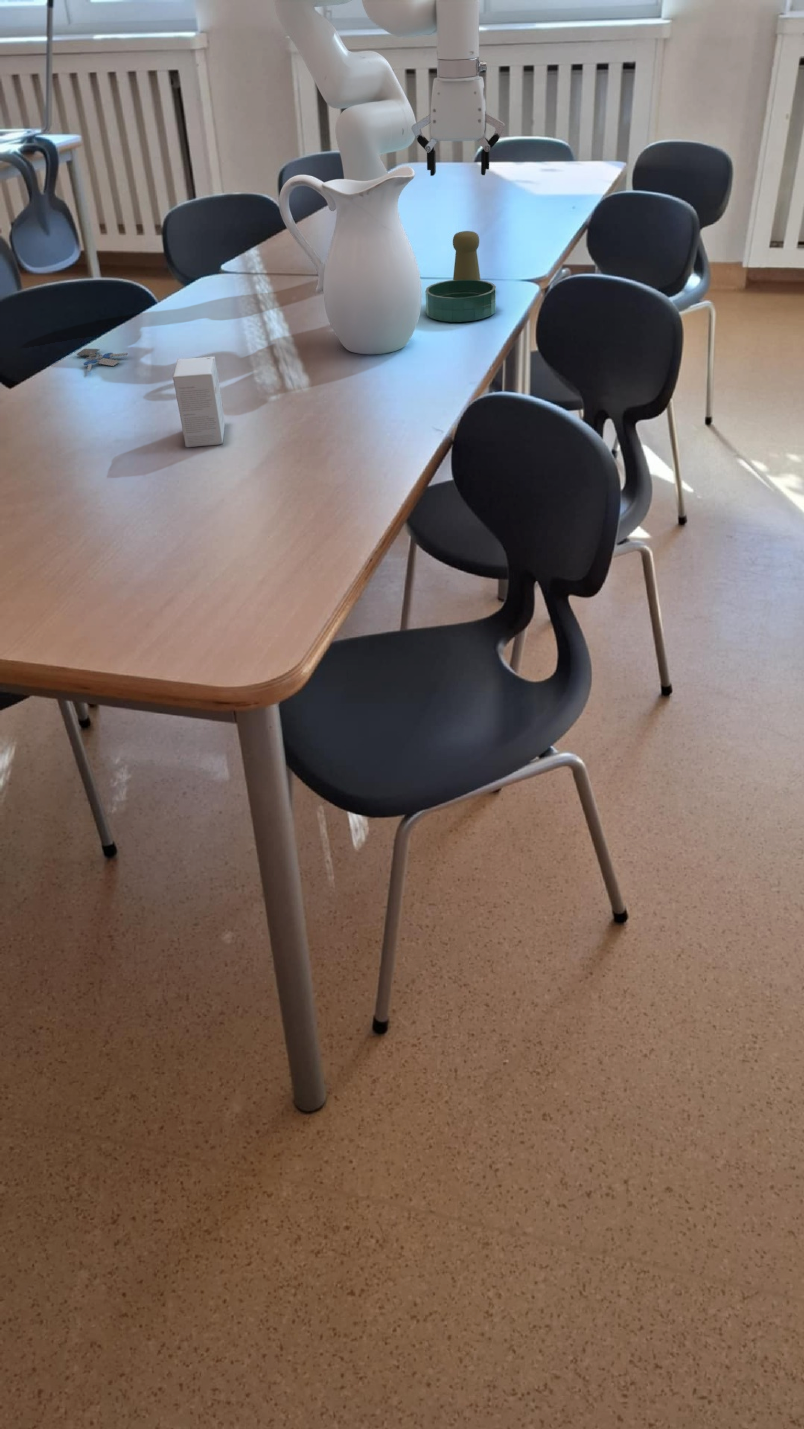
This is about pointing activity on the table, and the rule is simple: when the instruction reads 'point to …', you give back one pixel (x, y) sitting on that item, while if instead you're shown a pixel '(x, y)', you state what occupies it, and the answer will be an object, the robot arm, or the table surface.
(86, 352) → the key chain
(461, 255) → the cork
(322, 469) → the table surface
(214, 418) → the small box
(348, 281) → the pitcher
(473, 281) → the bowl
